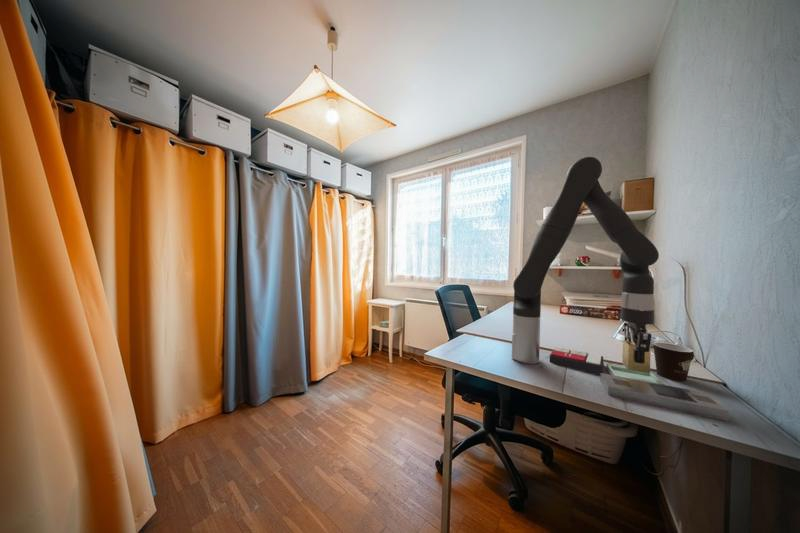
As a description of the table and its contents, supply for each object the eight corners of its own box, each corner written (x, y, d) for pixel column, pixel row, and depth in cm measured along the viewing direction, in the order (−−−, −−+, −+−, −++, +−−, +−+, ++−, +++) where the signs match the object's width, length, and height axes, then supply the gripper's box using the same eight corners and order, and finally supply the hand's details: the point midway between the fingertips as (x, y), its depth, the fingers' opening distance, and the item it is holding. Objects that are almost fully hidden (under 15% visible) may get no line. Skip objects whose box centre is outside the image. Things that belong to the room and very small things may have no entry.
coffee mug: (663, 380, 75) (664, 349, 74) (645, 368, 83) (646, 341, 82) (714, 387, 71) (715, 355, 70) (690, 374, 79) (691, 345, 78)
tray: (617, 382, 73) (617, 378, 73) (606, 368, 83) (606, 364, 83) (668, 393, 67) (668, 387, 67) (650, 376, 77) (650, 371, 77)
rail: (608, 394, 66) (608, 385, 66) (599, 380, 74) (600, 372, 74) (728, 421, 56) (728, 410, 56) (703, 401, 64) (704, 392, 64)
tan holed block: (627, 369, 74) (628, 344, 74) (622, 363, 78) (623, 339, 78) (649, 373, 71) (650, 347, 71) (642, 366, 76) (643, 342, 76)
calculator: (554, 345, 96) (603, 354, 85) (555, 356, 96) (603, 365, 85) (549, 353, 88) (601, 363, 77) (549, 364, 88) (602, 376, 77)
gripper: (614, 302, 82) (613, 349, 83) (629, 309, 70) (628, 365, 70) (643, 304, 79) (642, 354, 79) (665, 312, 66) (663, 371, 67)
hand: (635, 359), depth 75 cm, fingers closed on tan holed block, 5 cm apart
